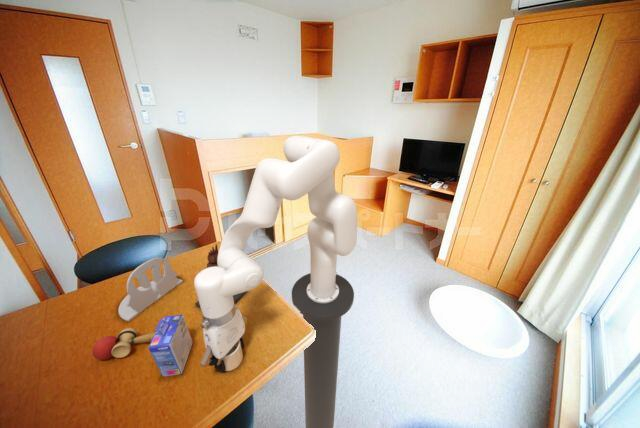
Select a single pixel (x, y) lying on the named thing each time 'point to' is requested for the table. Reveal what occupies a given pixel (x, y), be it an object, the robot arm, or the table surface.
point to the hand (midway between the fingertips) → (230, 356)
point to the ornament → (147, 287)
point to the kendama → (119, 344)
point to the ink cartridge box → (171, 345)
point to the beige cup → (233, 357)
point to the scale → (235, 298)
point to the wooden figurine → (212, 257)
